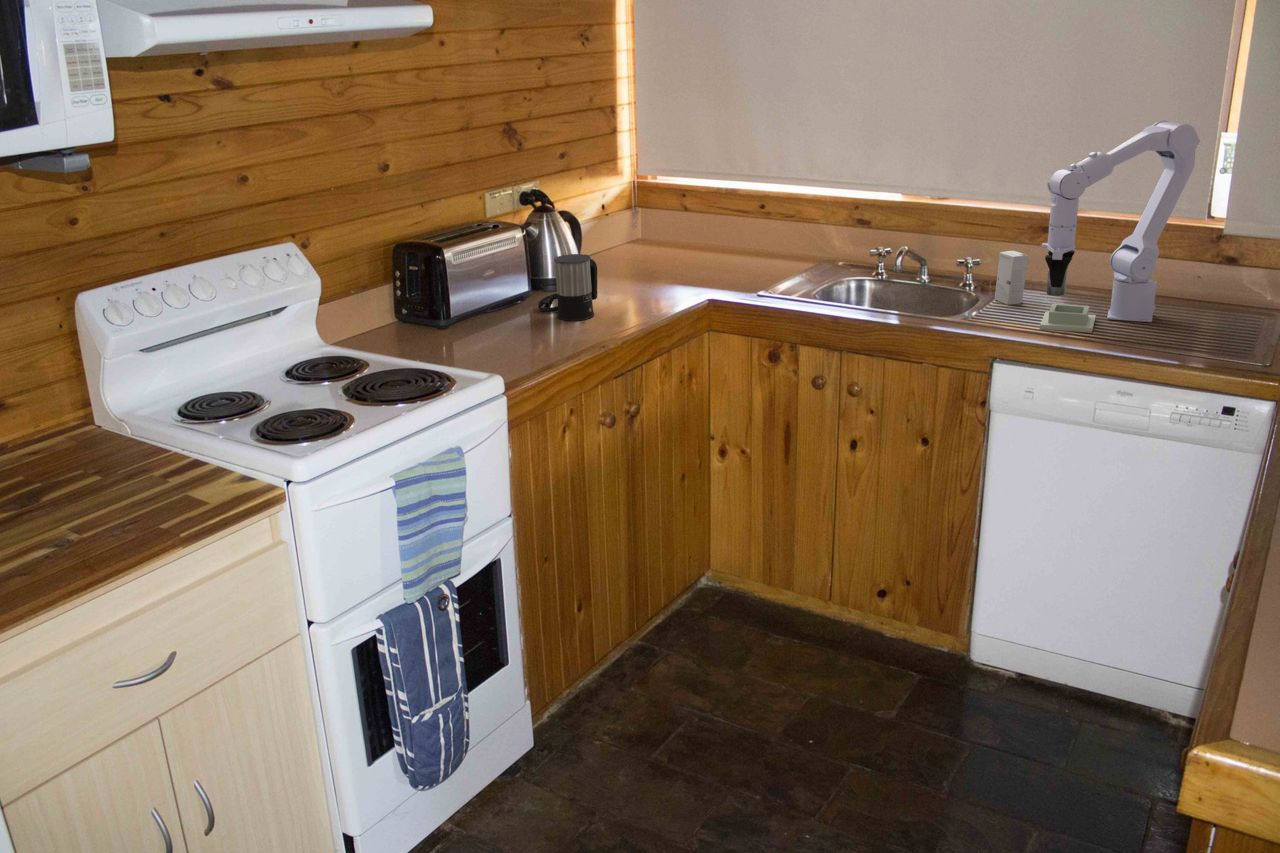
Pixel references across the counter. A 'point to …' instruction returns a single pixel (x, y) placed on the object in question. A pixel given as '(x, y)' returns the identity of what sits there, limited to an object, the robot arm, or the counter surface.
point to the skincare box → (1011, 277)
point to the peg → (1056, 290)
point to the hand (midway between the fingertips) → (1057, 284)
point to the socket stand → (1068, 318)
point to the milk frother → (573, 288)
